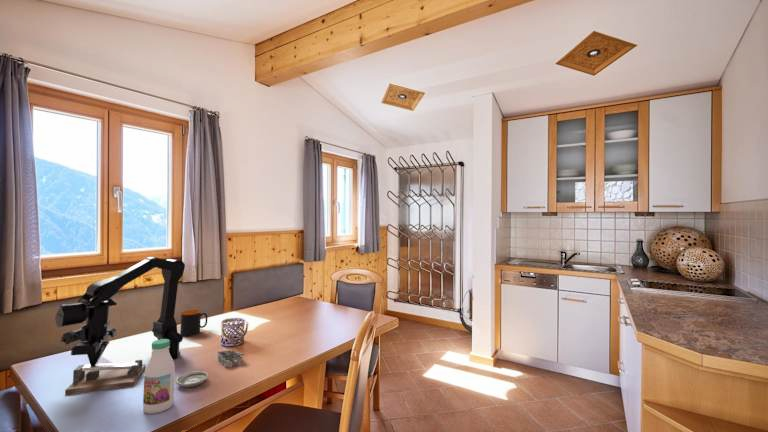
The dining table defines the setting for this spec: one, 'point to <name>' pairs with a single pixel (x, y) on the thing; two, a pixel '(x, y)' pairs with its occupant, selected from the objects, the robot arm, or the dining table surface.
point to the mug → (191, 323)
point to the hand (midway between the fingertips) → (93, 365)
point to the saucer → (191, 378)
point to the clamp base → (104, 378)
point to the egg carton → (230, 358)
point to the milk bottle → (159, 379)
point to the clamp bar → (109, 366)
